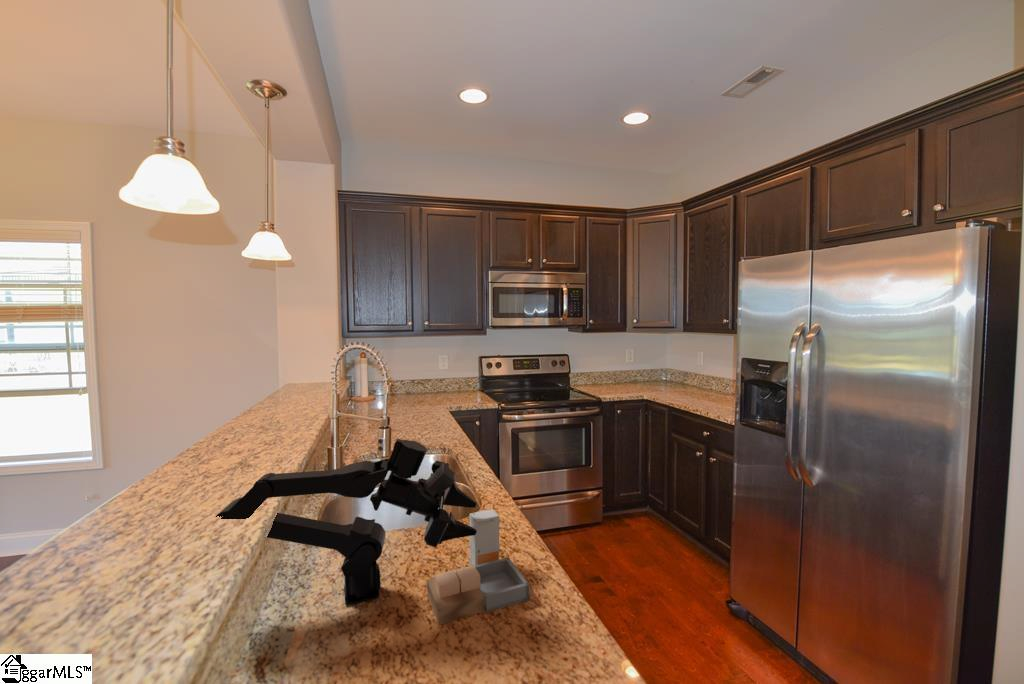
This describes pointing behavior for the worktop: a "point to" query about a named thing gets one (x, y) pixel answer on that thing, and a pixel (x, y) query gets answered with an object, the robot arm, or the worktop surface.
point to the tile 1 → (447, 584)
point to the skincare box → (484, 537)
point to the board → (454, 603)
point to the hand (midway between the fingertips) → (476, 518)
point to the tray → (502, 584)
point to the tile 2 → (468, 578)
